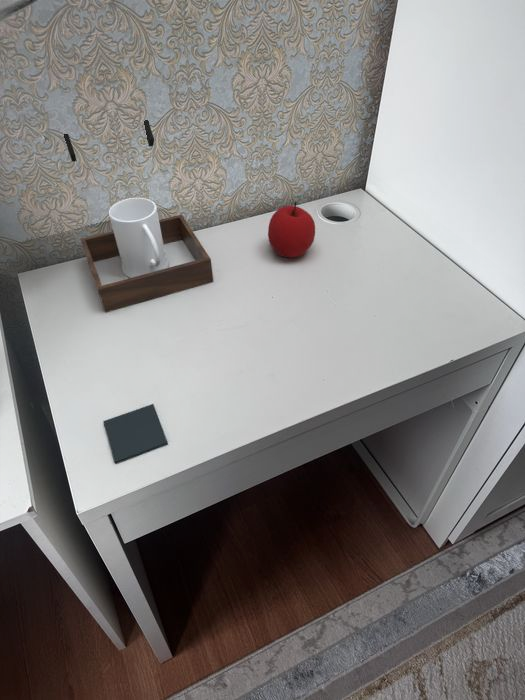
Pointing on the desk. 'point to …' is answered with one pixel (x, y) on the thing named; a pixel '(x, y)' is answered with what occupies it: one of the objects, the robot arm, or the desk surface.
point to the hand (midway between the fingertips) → (113, 150)
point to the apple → (291, 231)
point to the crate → (155, 281)
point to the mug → (138, 236)
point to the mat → (134, 433)
